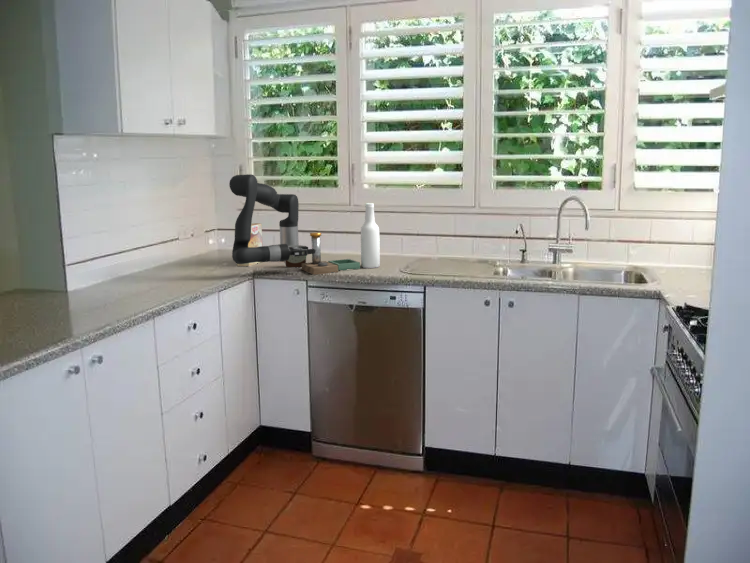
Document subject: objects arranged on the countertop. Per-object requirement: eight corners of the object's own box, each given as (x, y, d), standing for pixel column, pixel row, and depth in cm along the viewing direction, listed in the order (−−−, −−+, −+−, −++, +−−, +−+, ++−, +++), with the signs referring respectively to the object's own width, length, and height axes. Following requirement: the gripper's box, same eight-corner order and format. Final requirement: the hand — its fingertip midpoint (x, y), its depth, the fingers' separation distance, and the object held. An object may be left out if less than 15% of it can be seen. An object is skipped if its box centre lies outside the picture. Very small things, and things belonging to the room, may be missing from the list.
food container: (310, 265, 324) (310, 245, 322) (308, 267, 318) (307, 247, 316) (285, 265, 325) (284, 245, 324) (282, 267, 319) (281, 247, 318)
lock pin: (309, 269, 314) (308, 232, 310) (319, 268, 316) (318, 232, 313) (313, 271, 309) (312, 234, 306) (324, 270, 311) (323, 233, 308)
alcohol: (361, 268, 314) (360, 204, 308) (361, 265, 323) (360, 202, 317) (380, 268, 314) (379, 203, 308) (379, 265, 323) (378, 202, 317)
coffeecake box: (249, 266, 324) (247, 226, 320) (236, 266, 326) (234, 226, 322) (264, 261, 338) (262, 223, 334) (251, 261, 340) (249, 222, 336)
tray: (328, 267, 319) (328, 260, 319) (349, 265, 324) (349, 258, 324) (338, 270, 309) (338, 264, 308) (360, 268, 314) (359, 262, 313)
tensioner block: (301, 269, 313) (301, 260, 313) (325, 267, 319) (325, 258, 318) (313, 274, 300) (313, 265, 300) (338, 272, 306) (337, 263, 305)
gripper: (282, 246, 296) (316, 243, 303) (272, 242, 308) (305, 240, 315) (283, 263, 297) (317, 260, 304) (273, 258, 310) (306, 256, 317)
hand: (311, 250), depth 310 cm, fingers open, 8 cm apart
